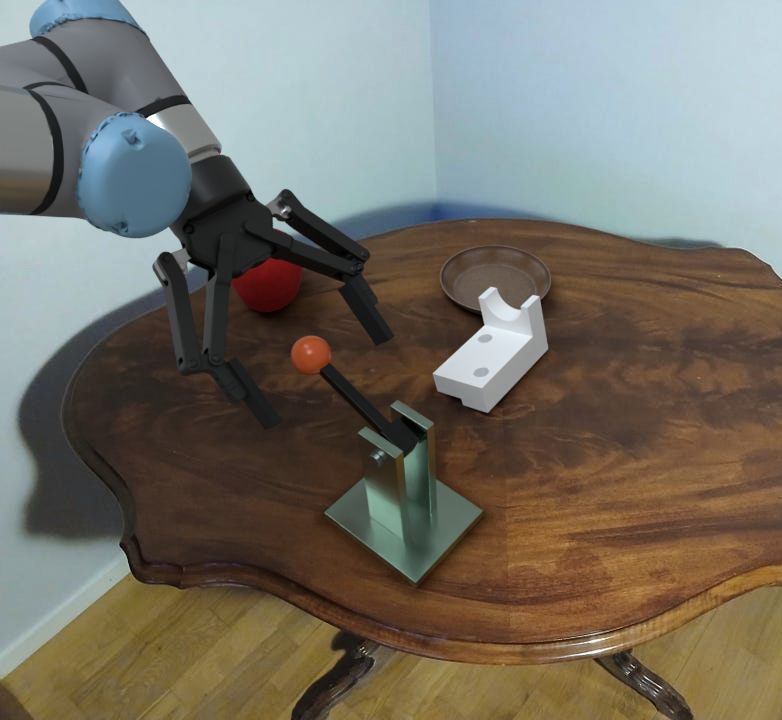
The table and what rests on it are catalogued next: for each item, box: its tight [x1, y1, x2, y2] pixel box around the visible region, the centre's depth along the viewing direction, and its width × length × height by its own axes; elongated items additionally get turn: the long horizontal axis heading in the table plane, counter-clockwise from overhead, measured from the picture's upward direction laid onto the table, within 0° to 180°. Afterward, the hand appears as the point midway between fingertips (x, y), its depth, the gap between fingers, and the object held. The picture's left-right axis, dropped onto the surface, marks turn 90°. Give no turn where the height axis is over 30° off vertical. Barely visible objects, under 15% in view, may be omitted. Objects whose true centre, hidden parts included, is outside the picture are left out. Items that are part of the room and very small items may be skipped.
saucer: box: [439, 244, 552, 316], centre depth 97 cm, size 15×15×3 cm
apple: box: [230, 227, 303, 313], centre depth 92 cm, size 10×10×11 cm
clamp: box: [323, 399, 484, 590], centre depth 67 cm, size 12×10×14 cm
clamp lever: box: [290, 335, 420, 458], centre depth 65 cm, size 14×4×4 cm, turn 52°
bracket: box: [432, 287, 549, 414], centre depth 85 cm, size 13×7×8 cm, turn 145°
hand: (333, 381), depth 65 cm, fingers open, 13 cm apart
